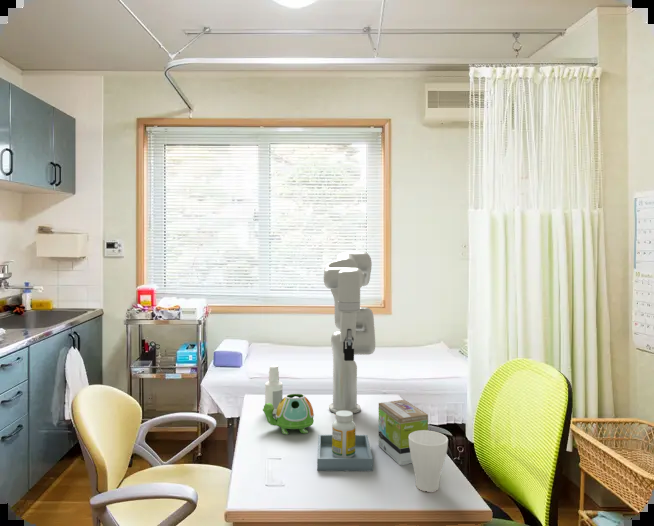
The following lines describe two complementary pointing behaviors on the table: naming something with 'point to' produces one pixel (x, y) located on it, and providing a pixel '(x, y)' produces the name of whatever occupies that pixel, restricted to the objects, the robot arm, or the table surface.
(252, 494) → the table surface
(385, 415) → the tea box
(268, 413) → the turtle holder
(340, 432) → the supplement bottle
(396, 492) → the table surface
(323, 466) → the tray
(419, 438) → the cup
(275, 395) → the spray bottle
